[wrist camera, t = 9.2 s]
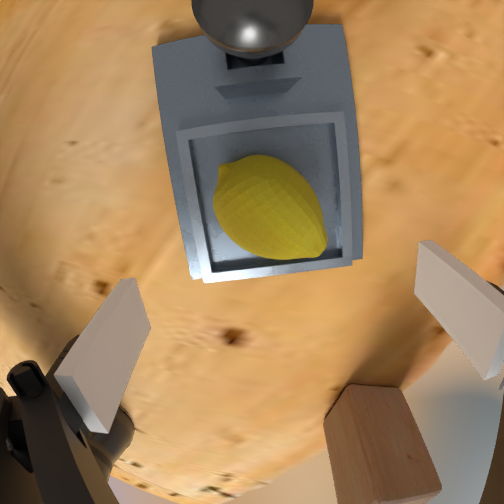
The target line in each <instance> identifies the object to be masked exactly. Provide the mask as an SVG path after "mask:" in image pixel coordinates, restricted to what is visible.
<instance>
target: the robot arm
mask: <svg viewBox="0 0 504 504" xmlns="http://www.w3.org/2000/svg"><path fill="white" fill-rule="evenodd" d="M414 294H415V295H416V296H417V298H418V299H419V300H420V301H421V302H422V303H423V304H424V306H425V307H426V308H427V309H428V310H429V311H430V313H431V314H432V315H433V316H434V317H435V319H436V320H437V321H438V322H439V323H440V325H441V326H442V327H443V328H444V329H445V331H446V332H447V333H448V334H449V335H450V337H451V338H452V339H453V340H454V342H455V343H456V344H457V345H458V347H459V348H460V349H461V350H462V352H463V353H464V354H465V356H466V357H467V358H468V359H469V361H470V362H471V363H472V365H473V366H474V367H475V369H476V370H477V371H478V373H479V374H480V375H481V377H482V378H483V379H484V380H486V379H488V378H490V377H493V376H495V375H498V374H499V372H500V370H501V367H502V365H503V362H504V291H503V290H502V289H500V288H499V287H498V286H497V285H495V284H493V283H490V282H488V281H486V280H484V279H483V278H482V277H481V276H479V275H478V274H477V273H475V272H474V271H473V270H472V269H470V268H469V267H468V266H466V265H465V264H464V263H463V262H461V261H460V260H459V259H457V258H456V257H455V256H453V255H452V254H450V253H449V252H448V251H446V250H445V249H444V248H442V247H441V246H440V245H438V244H437V243H435V242H434V241H432V240H428V241H420V242H419V243H418V257H417V269H416V279H415V288H414ZM150 329H151V326H150V323H149V320H148V317H147V314H146V311H145V308H144V305H143V302H142V298H141V295H140V292H139V289H138V286H137V282H136V279H135V278H128V279H121V280H120V281H119V282H118V283H117V285H116V286H115V287H114V289H113V290H112V291H111V293H110V294H109V295H108V297H107V298H106V300H105V301H104V302H103V304H102V305H101V306H100V308H99V309H98V310H97V312H96V313H95V315H94V316H93V317H92V319H91V320H90V322H89V323H88V324H87V326H86V327H85V329H84V330H83V332H82V333H81V334H80V335H77V336H76V337H74V338H73V339H72V340H71V341H70V342H68V344H67V345H66V347H65V348H64V350H63V352H61V354H60V355H59V357H58V359H57V360H56V361H55V363H54V364H53V366H52V367H51V369H50V370H49V372H48V373H47V375H46V376H44V374H43V373H42V371H41V369H40V367H39V366H38V364H37V362H35V361H33V360H27V361H23V362H21V363H19V364H17V365H15V366H14V367H13V368H12V369H11V370H10V372H9V373H8V375H7V381H8V382H9V384H10V386H11V387H12V389H13V390H14V392H15V393H16V395H17V396H11V397H8V396H7V395H6V393H5V392H4V390H3V389H2V388H1V387H0V504H119V502H118V501H117V499H116V497H115V496H114V494H113V492H112V490H111V488H110V487H109V485H108V480H109V477H110V473H111V470H112V467H113V464H114V463H115V462H116V461H117V459H118V458H119V457H120V456H121V454H122V453H123V452H124V451H125V449H126V448H127V447H128V446H129V445H130V444H131V441H132V438H133V435H134V426H133V424H132V422H131V420H130V419H129V417H128V416H127V415H126V414H125V413H124V412H123V411H122V410H121V409H120V408H118V407H119V404H120V402H121V399H122V397H123V394H124V392H125V389H126V387H127V384H128V382H129V379H130V377H131V374H132V372H133V369H134V367H135V364H136V362H137V360H138V357H139V355H140V352H141V350H142V348H143V345H144V343H145V341H146V338H147V336H148V334H149V331H150ZM503 386H504V379H503V381H502V383H501V385H500V388H499V390H501V389H502V387H503ZM479 504H504V396H503V404H502V411H501V418H500V424H499V429H498V435H497V440H496V445H495V450H494V454H493V458H492V462H491V467H490V470H489V474H488V477H487V481H486V484H485V488H484V491H483V494H482V497H481V500H480V503H479Z"/></svg>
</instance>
